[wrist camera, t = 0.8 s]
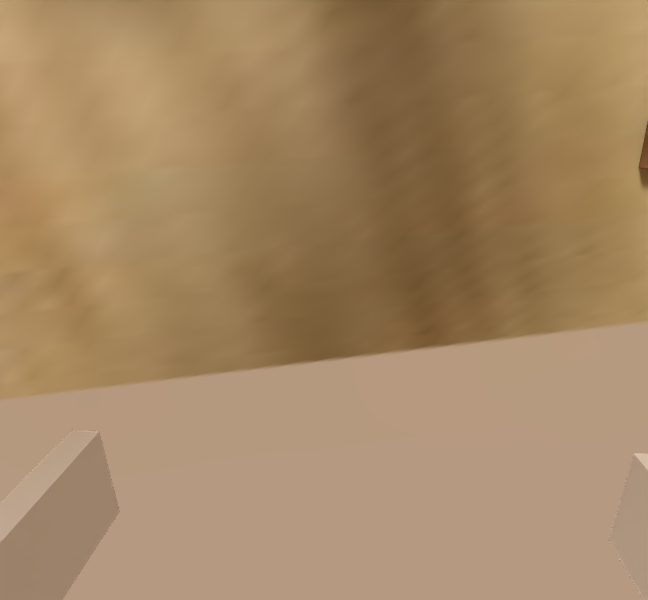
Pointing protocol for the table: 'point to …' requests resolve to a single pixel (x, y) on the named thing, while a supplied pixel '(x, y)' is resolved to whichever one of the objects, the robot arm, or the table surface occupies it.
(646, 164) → the board
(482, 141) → the table surface
